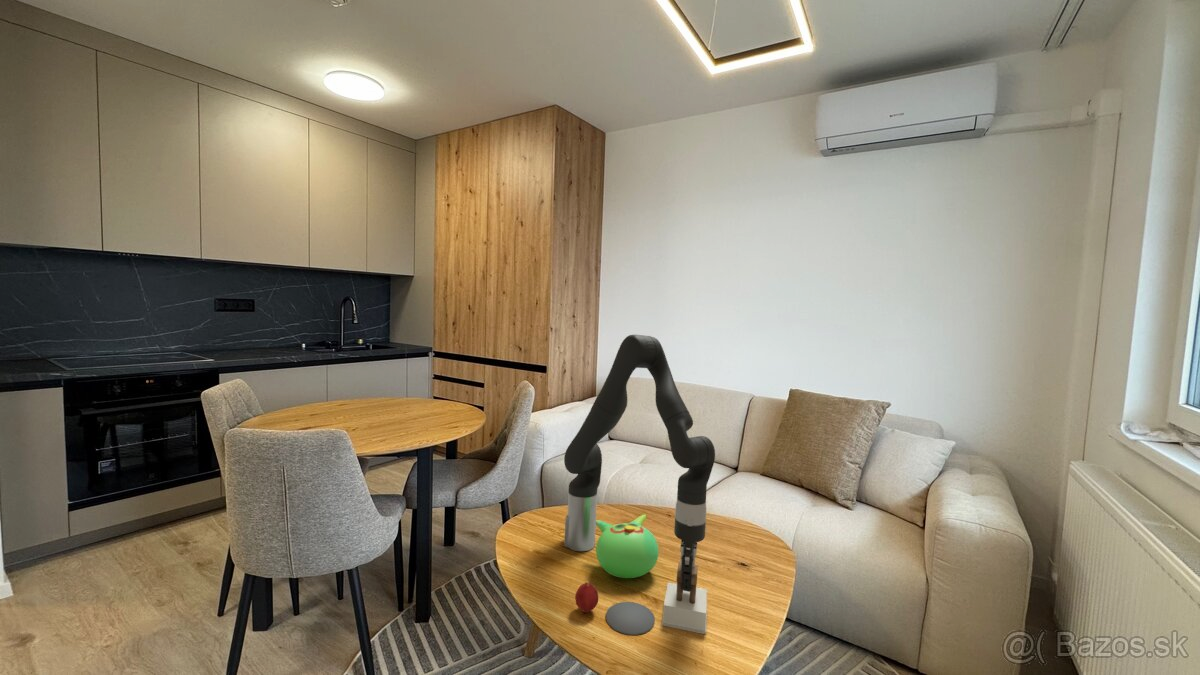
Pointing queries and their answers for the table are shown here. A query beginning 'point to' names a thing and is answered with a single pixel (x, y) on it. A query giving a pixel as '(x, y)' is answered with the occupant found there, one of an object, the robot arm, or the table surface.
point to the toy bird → (626, 548)
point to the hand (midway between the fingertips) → (686, 583)
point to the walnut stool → (693, 584)
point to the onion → (586, 597)
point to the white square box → (685, 610)
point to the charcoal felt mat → (630, 618)
